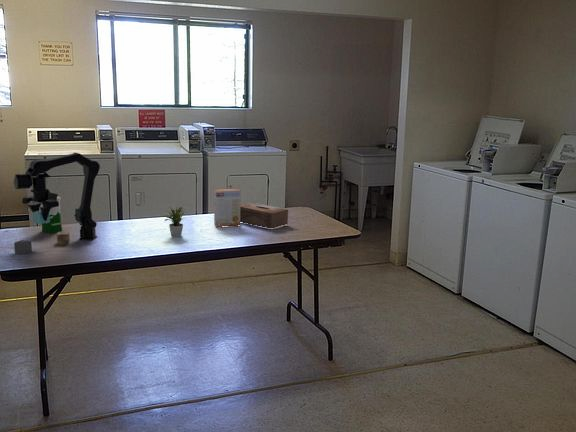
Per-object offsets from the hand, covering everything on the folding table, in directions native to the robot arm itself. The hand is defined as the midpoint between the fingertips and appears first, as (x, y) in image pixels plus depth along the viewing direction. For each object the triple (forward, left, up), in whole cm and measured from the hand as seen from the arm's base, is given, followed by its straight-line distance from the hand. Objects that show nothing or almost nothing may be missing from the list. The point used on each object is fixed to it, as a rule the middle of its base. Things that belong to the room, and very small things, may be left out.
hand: (41, 219), depth 258 cm
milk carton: (+9, -26, -13) cm, 30 cm away
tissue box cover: (-97, -65, -13) cm, 118 cm away
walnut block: (-7, -6, -13) cm, 16 cm away
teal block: (0, 0, -1) cm, 1 cm away
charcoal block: (+3, +12, -13) cm, 18 cm away
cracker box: (-78, -56, -13) cm, 97 cm away
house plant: (-56, -30, -13) cm, 65 cm away
